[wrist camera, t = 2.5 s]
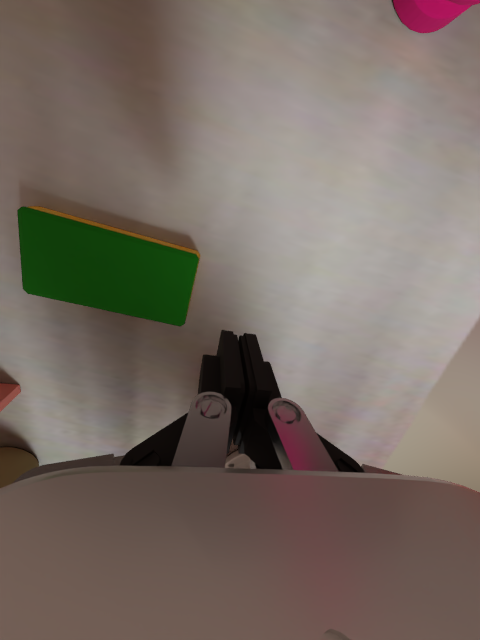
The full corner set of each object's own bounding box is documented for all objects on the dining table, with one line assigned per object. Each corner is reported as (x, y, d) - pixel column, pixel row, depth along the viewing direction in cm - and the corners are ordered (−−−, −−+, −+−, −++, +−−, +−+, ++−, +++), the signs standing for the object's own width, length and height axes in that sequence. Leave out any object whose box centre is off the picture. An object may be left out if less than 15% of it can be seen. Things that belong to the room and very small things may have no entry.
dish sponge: (37, 204, 20) (15, 205, 18) (201, 251, 23) (199, 256, 21) (40, 284, 23) (22, 293, 21) (186, 317, 26) (183, 327, 24)
